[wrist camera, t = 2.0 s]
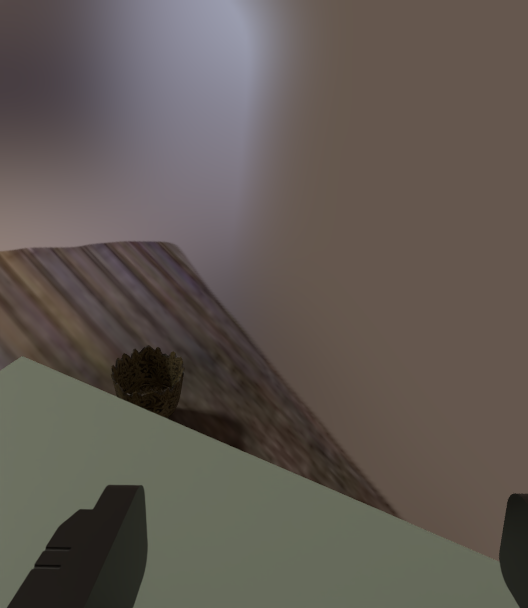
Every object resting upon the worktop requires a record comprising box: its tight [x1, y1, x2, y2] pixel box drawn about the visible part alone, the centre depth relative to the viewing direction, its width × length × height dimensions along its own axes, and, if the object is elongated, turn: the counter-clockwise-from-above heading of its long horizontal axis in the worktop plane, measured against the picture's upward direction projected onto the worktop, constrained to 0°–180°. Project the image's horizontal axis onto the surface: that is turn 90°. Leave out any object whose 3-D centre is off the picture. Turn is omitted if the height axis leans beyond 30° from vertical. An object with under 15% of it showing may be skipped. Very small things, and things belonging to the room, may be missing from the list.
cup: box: [111, 345, 184, 418], centre depth 50 cm, size 8×7×8 cm
